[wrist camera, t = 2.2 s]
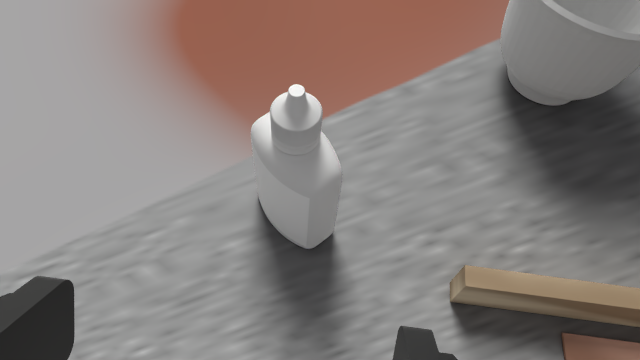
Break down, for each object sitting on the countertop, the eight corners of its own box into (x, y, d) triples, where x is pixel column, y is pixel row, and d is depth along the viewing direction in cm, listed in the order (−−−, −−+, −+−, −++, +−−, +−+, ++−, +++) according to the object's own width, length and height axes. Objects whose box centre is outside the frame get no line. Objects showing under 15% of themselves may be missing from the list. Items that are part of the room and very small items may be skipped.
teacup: (657, 54, 41) (755, -57, 32) (581, 170, 35) (678, 72, 26) (527, -14, 44) (585, -130, 36) (437, 81, 38) (480, -32, 29)
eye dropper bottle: (267, 258, 30) (254, 150, 20) (255, 180, 33) (238, 48, 23) (336, 247, 31) (360, 136, 20) (319, 171, 34) (332, 38, 23)
